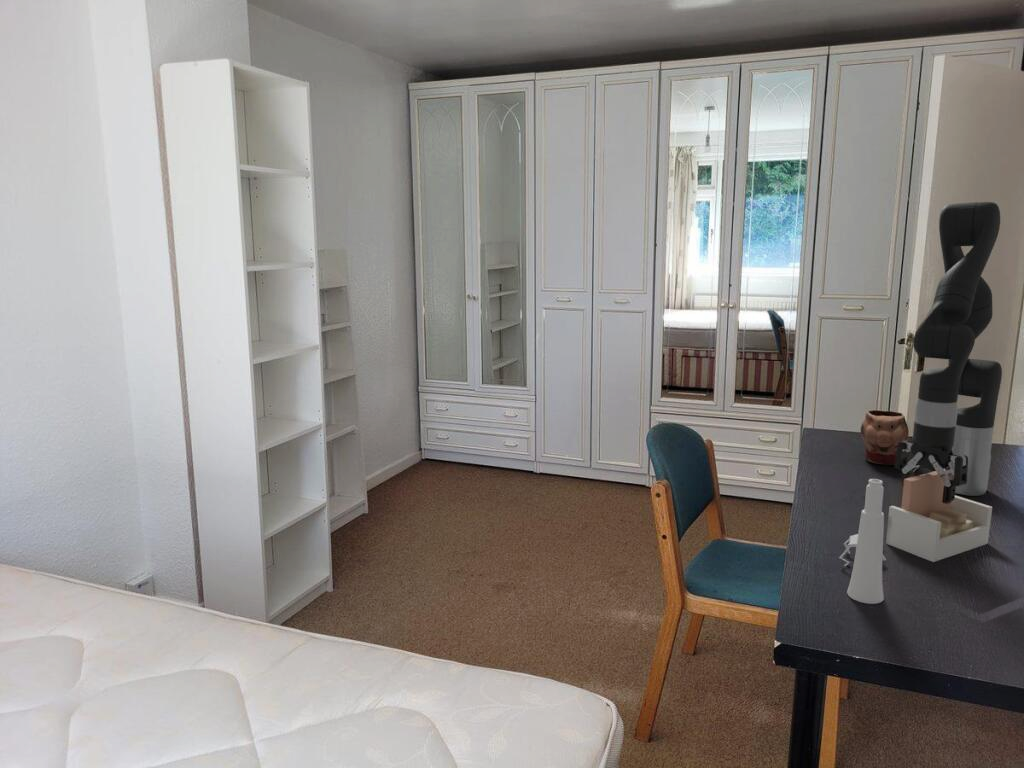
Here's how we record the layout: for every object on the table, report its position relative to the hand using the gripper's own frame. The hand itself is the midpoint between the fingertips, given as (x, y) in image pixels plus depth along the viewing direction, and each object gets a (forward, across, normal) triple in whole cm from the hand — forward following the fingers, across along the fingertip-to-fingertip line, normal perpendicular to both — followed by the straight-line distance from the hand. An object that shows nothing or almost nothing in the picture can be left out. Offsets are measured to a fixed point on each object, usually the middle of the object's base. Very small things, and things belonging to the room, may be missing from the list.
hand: (927, 496), depth 160 cm
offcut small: (+4, -5, 0) cm, 6 cm away
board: (+9, 0, 0) cm, 9 cm away
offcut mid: (+7, -5, -1) cm, 8 cm away
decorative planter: (+10, +42, -44) cm, 62 cm away
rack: (+10, -3, 0) cm, 11 cm away
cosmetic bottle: (+10, -10, +31) cm, 34 cm away
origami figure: (+11, 0, +18) cm, 21 cm away
